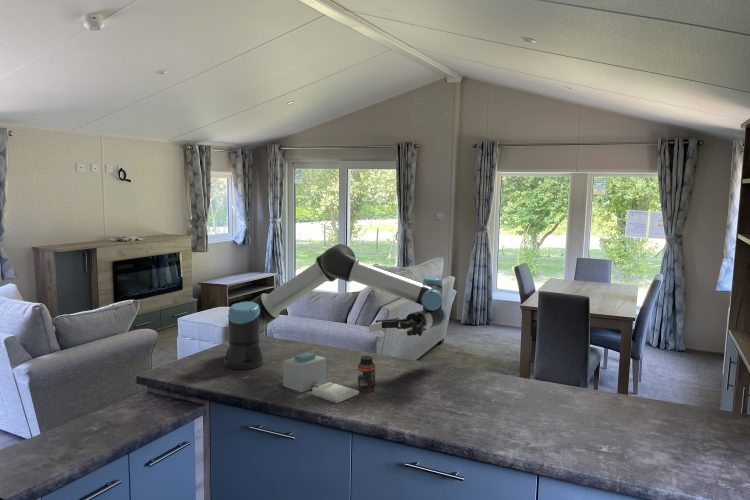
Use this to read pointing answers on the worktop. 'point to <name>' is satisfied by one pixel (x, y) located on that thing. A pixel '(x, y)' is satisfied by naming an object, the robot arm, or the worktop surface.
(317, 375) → the white two-part device
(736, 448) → the worktop surface
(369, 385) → the supplement bottle
